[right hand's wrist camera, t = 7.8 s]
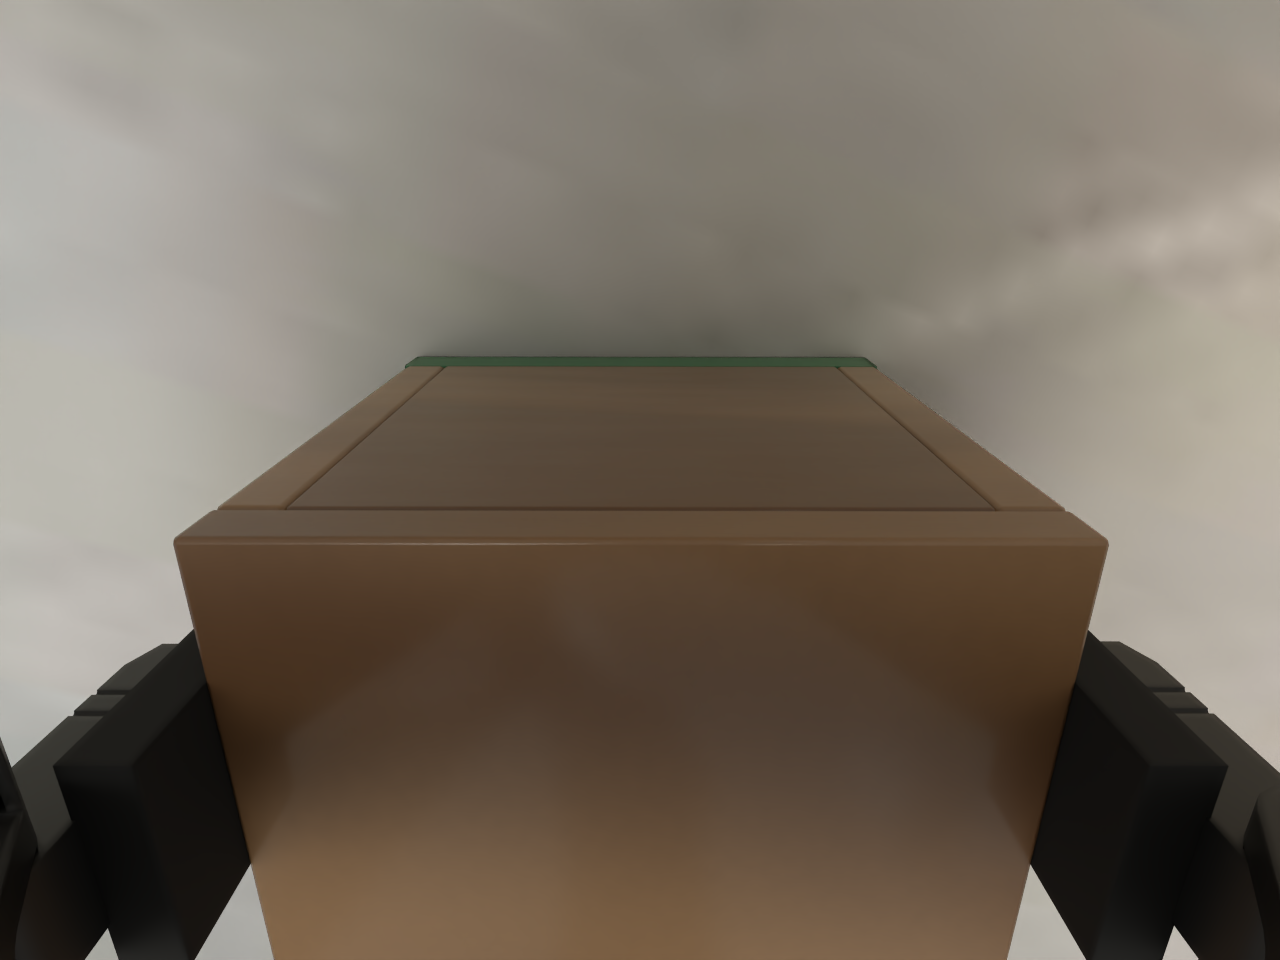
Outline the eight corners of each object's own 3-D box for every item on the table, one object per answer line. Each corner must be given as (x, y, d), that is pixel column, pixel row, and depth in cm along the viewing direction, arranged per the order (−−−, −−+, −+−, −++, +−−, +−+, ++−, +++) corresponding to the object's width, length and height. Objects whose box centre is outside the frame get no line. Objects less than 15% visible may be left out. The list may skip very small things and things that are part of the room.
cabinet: (794, 1012, 24) (881, 1478, 15) (485, 1011, 24) (397, 1476, 15) (864, 357, 16) (1115, 539, 8) (416, 357, 16) (167, 537, 8)
